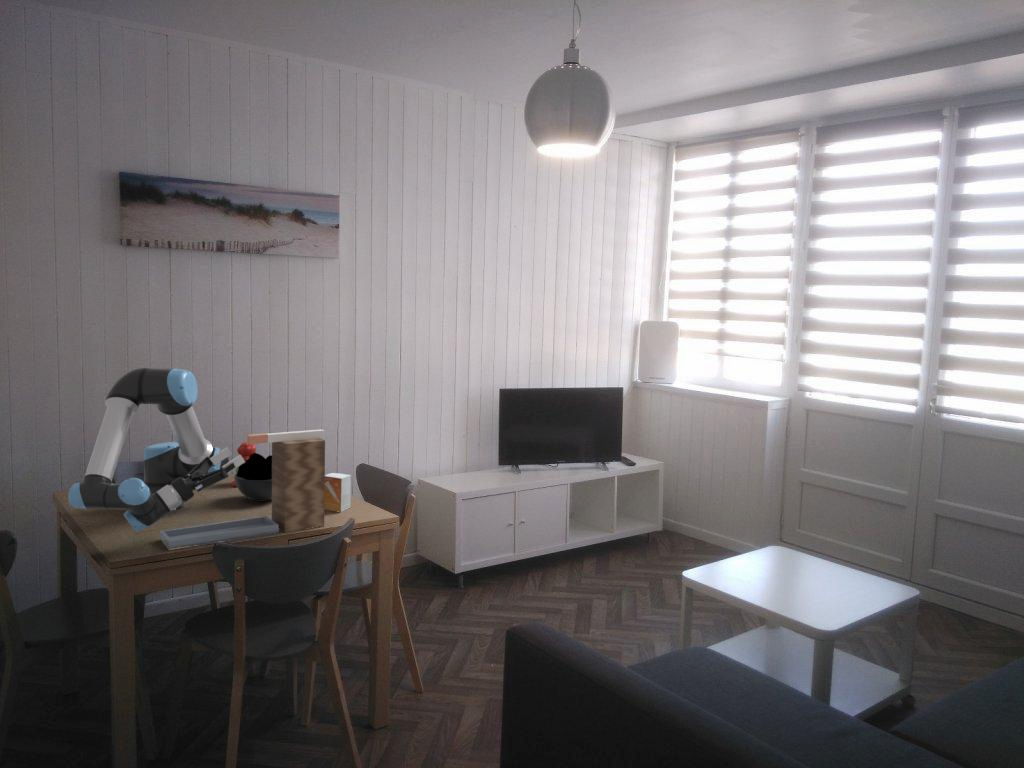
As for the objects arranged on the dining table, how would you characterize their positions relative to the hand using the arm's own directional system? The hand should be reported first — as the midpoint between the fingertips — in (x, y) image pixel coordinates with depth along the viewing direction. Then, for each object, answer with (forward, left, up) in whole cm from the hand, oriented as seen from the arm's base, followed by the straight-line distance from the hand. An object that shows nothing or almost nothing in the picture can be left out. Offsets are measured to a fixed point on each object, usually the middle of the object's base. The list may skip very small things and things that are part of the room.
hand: (236, 454), depth 248 cm
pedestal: (+20, +6, -27) cm, 34 cm away
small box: (+36, +22, -27) cm, 50 cm away
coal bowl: (+11, +42, -27) cm, 51 cm away
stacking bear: (+7, +69, -27) cm, 74 cm away
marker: (+16, +5, +3) cm, 17 cm away
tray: (-5, -1, -27) cm, 27 cm away
